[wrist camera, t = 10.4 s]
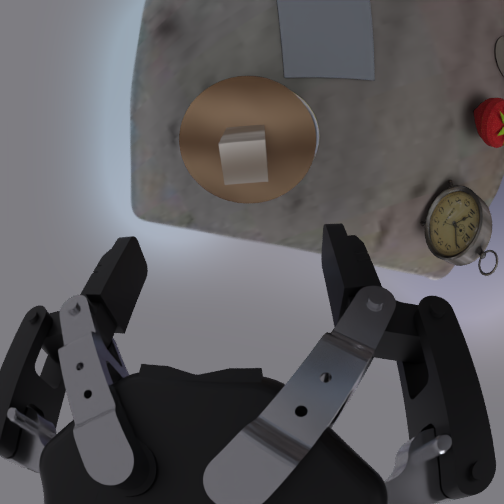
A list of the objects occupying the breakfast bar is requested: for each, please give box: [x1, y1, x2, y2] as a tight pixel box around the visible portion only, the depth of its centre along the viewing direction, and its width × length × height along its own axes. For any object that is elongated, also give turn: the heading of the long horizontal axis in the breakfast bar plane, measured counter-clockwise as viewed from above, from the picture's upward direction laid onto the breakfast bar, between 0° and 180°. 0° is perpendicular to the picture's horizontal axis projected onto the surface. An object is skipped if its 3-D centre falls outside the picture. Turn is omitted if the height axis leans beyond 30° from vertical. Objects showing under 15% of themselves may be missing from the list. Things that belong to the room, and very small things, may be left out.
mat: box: [277, 0, 375, 81], centre depth 25 cm, size 11×11×1 cm
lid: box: [179, 76, 316, 203], centre depth 22 cm, size 12×12×6 cm
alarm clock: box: [421, 180, 498, 276], centre depth 31 cm, size 11×5×16 cm, turn 158°
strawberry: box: [474, 98, 504, 148], centre depth 24 cm, size 6×8×10 cm
